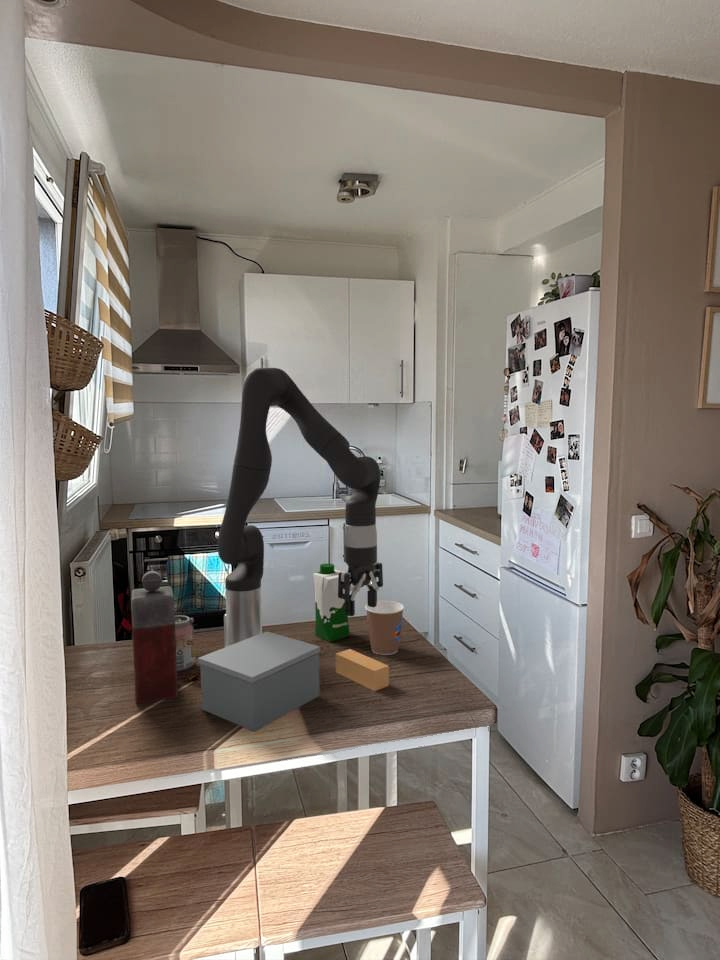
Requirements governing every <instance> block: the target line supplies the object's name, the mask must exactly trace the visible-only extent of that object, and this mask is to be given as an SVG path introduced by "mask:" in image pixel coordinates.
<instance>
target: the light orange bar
mask: <svg viewBox="0 0 720 960" xmlns="http://www.w3.org/2000/svg"><path fill="white" fill-rule="evenodd" d="M335 673H337V674H338V675H340V676H342V677H345V678H347V679H349V680H350V681H352V682H354V683H357V684H359V685H360V686H363V687H365V688H367V689H368V690H371V691H373V692H376V691H379V690H381V689H385V688H387V687H389V686H390V666H389V665H387V664H386V663H385V662H384V663H383V662H382V661H379V660H377V659H374V658H372V657H369V656H367V655H364V654H362V653H360V652H357V651H356V650H354V649H351V648H349V649H346V650H343V651H340V652H337V653H335Z"/></svg>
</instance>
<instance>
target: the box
mask: <svg viewBox="0 0 720 960" xmlns="http://www.w3.org/2000/svg"><path fill="white" fill-rule="evenodd" d="M199 667H200V668H199V669H200V692H201V693H200V695H201V710H202V711H205V712H207V713H210V714H211V715H214V716H217V717H219V718H222V719H223V720H226V721H228V722H230V723H233V724H235V725H238V726H240V727H242V728H245V729H247V730H249V731H252V732H256V731H257V730H259V729H261V728H263V727H264V726H267V725H269V724H270V723H272V722H274V721H276V720H278V719H279V718H282V717H283V716H285V715H287V714H289V713H291V712H293V711H294V710H297V709H298V708H300V707H302V706H303V705H305V704H307V703H309V702H311V701H313V700H315V699H316V698H319V697H320V652H319V653H316V654H314V655H312V656H310V657H308V658H306V659H304V660H301V661H299V662H297V663H295V664H293V665H291V666H288V667H286V668H284V669H282V670H280V671H278V672H276V673H273V674H271V675H269V676H267V677H265V678H263V679H260V680H258V681H256V682H254V683H251V682H248V681H245V680H242V679H240V678H237V677H234V676H231V675H229V674H226V673H223V672H220V671H218V670H215V669H212V668H209V667H207V666H204V665H201V664H199Z"/></svg>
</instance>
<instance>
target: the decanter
mask: <svg viewBox="0 0 720 960" xmlns="http://www.w3.org/2000/svg"><path fill="white" fill-rule="evenodd" d="M162 584H163V580H162V576H161V574H160V573H159V572H158V571H156V570H149V571H146V572H145V573H144V574H143V575H142V579H141V585H142V588H134V589H132V590H131V599H130V600H131V602H130V606H131V607H130V609H131V610H130V611H131V630H132V650H133V654H132V655H133V671H134V674H133V675H134V677H133V678H134V692H135V694H134V695H135V704H140V703H147V702H154V701H155V702H156V701H162V700H170V699H177V698H178V697H179V694H178V690H179V689H178V688H179V687H178V671H177V661H176V635H175V616H176V611H175V609H176V608H175V596H174V591H173V588H172V586H170V585H166V586H162Z"/></svg>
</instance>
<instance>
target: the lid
mask: <svg viewBox="0 0 720 960" xmlns="http://www.w3.org/2000/svg"><path fill="white" fill-rule="evenodd" d="M320 652H321V646H320V645H315V644H312V643H308V642H305V641H302V640H298V639H295V638H291V637H287V636H284V635H281V634H277V633H274V632H271V631H264V632H262V633H261V634H258V635H256V636H253V637H251V638H248V639H246V640H243V641H240V642H238V643H235V644H233V645H230V646H228V647H225V646H224V647H223V648H221V649H218V650H214V651H212V652H210V653H207V654H205V655H202V656H199V657H198V658H197V663H198V664H199V665H200V664H201V665H204V666H207V667H209V668H212V669H215V670H218V671H220V672H223V673H226V674H229V675H231V676H234V677H237V678H240V679H242V680H245V681H248V682H251V683H254V682H256V681H258V680H260V679H263V678H265V677H267V676H269V675H271V674H273V673H276V672H278V671H280V670H282V669H284V668H286V667H288V666H291V665H293V664H295V663H297V662H299V661H301V660H304V659H306V658H308V657H310V656H312V655H314V654H316V653H319V654H320Z"/></svg>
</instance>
